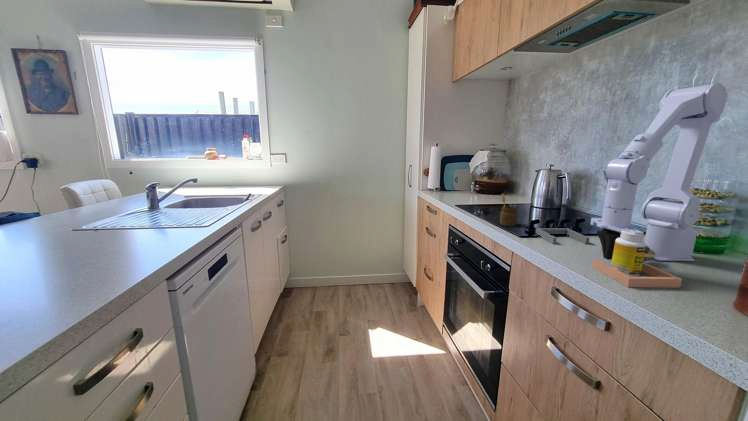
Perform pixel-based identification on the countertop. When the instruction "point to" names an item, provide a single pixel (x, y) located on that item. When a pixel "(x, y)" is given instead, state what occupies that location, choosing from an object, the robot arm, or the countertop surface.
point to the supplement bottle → (629, 253)
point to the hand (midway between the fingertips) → (609, 258)
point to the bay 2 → (657, 279)
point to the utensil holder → (508, 214)
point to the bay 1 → (547, 231)
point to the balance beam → (649, 253)
